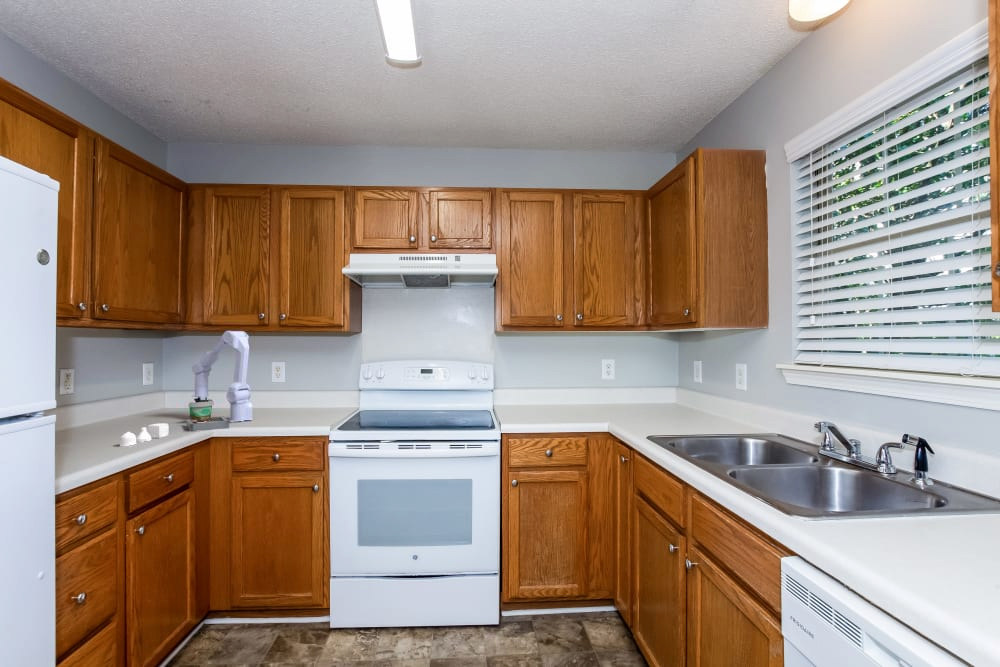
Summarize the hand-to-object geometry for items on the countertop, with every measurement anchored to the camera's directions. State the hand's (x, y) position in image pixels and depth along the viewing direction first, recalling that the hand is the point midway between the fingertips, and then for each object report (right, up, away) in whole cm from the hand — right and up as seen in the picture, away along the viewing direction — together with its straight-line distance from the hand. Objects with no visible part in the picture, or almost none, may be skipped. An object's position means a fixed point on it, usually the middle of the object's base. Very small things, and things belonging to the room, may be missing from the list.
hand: (201, 413), depth 239 cm
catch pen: (+16, -3, -21) cm, 27 cm away
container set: (+9, -3, -51) cm, 52 cm away
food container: (+7, -3, -9) cm, 12 cm away
